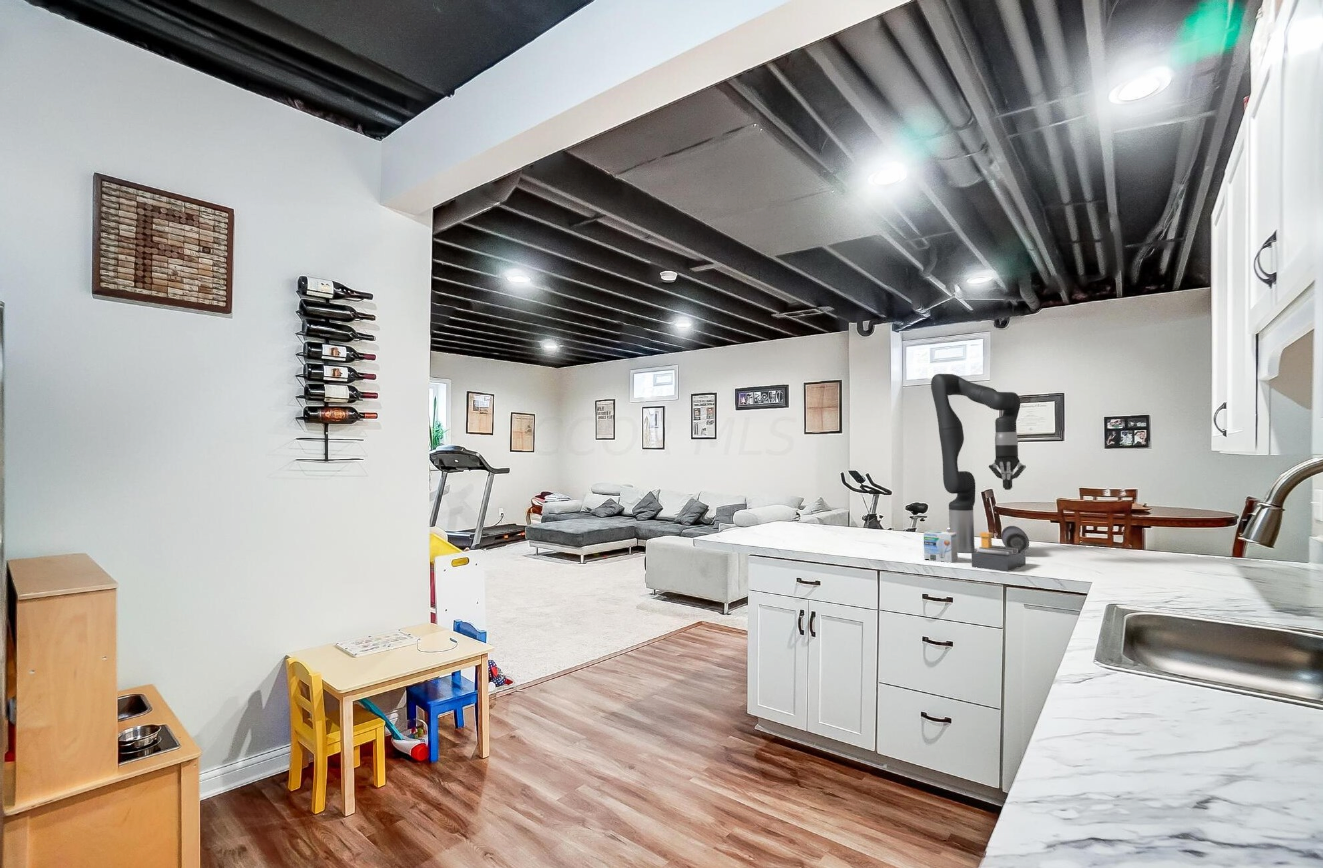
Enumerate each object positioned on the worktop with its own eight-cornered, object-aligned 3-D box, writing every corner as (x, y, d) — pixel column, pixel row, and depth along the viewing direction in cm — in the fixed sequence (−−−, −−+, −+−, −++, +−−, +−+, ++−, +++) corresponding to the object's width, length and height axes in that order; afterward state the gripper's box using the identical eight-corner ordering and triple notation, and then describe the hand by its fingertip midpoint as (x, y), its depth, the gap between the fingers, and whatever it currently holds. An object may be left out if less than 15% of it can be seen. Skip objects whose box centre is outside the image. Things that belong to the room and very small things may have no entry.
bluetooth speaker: (1000, 547, 262) (999, 524, 263) (1025, 548, 258) (1024, 524, 259) (1003, 555, 242) (1003, 530, 242) (1031, 557, 238) (1030, 531, 238)
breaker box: (971, 566, 221) (971, 548, 221) (990, 560, 232) (990, 543, 232) (1007, 571, 212) (1007, 552, 212) (1025, 564, 223) (1025, 547, 223)
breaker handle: (979, 549, 225) (979, 533, 225) (984, 548, 227) (983, 531, 228) (989, 550, 222) (988, 533, 223) (993, 549, 225) (993, 532, 225)
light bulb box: (923, 559, 236) (922, 532, 237) (929, 557, 241) (928, 530, 242) (952, 562, 229) (951, 534, 229) (958, 560, 234) (957, 532, 234)
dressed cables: (976, 552, 222) (976, 548, 222) (990, 548, 230) (990, 544, 230) (1008, 556, 214) (1008, 552, 214) (1022, 551, 222) (1021, 547, 222)
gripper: (984, 444, 235) (985, 489, 235) (1021, 443, 225) (1023, 490, 225) (991, 444, 240) (993, 488, 240) (1029, 443, 230) (1030, 489, 230)
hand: (1007, 489), depth 232 cm, fingers closed
